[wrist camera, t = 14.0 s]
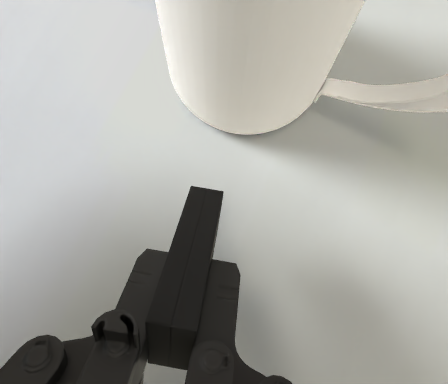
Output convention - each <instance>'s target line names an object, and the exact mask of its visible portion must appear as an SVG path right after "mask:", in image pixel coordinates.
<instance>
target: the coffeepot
mask: <svg viewBox="0 0 448 384" xmlns="http://www.w3.org/2000/svg"><path fill="white" fill-rule="evenodd" d="M364 2H365V0H155V4H156V9H157V14H158V19H159V24H160V29H161V34H162V39H163V44H164V49H165V54H166V59H167V64H168V69H169V74H170V78H171V81H172V83H173V86H174V88H175V90H176V92H177V94H178V96H179V97H180V99H181V100H182V102H183V103H184V105H185V106H186V107H187V108H188V109H189V110H190V111H191V112H192V113H193V114H194V115H195V116H196V117H198V118H199V119H200V120H202V121H203V122H205V123H206V124H208V125H210V126H212V127H214V128H217V129H219V130H222V131H226V132H230V133H235V134H246V135H249V134H261V133H266V132H270V131H273V130H276V129H279V128H281V127H283V126H285V125H287V124H289V123H290V122H292V121H293V120H295V119H296V118H298V117H299V116H300V115H301V114H302V113H303V112H304V111H305V110H306V109H307V108H308V107H309V106H310V105H311V104H312V102H313V101H314V102H315V103H316V102H317V100H318V98H319V96H321V95H325V96H329V97H332V98H336V99H339V100H343V101H346V102H350V103H354V104H358V105H362V106H367V107H372V108H378V109H385V110H393V111H404V112H422V113H432V112H448V74H446V75H443V76H440V77H437V78H432V79H428V80H424V81H418V82H411V83H402V84H388V85H368V84H361V83H357V82H353V81H349V80H346V81H342V80H338V79H334V78H329V79H326V77H327V75H328V74H329V72H330V70H331V68H332V66H333V64H334V62H335V60H336V58H337V56H338V54H339V52H340V50H341V48H342V46H343V44H344V42H345V40H346V38H347V36H348V34H349V32H350V30H351V28H352V26H353V24H354V22H355V20H356V18H357V16H358V14H359V12H360V10H361V8H362V6H363V4H364ZM325 79H326V80H325ZM324 81H325V82H324ZM323 83H324V84H323ZM314 99H315V100H314Z"/></svg>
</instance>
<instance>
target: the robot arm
mask: <svg viewBox="0 0 448 384" xmlns="http://www.w3.org/2000/svg"><path fill="white" fill-rule="evenodd" d="M223 192H224V191H218V190H212V189H206V188H200V187H194V186H191V188H190V191H189V194H188V197H187V200H186V202H185V205H184V208H183V211H182V214H181V217H180V220H179V223H178V226H177V229H176V232H175V235H174V238H173V241H172V244H171V247H170V250H169V252H163V251H158V250H152V249H146V250H145V251H144V252H143V253H142V254H141V255H140V256H139V257H138V258H137V260H136V263H135V265H134V267H133V270H132V272H131V274H130V276H129V279H128V282H127V283H126V286H125V288H124V290H123V293H122V295H121V297H120V299H119V302H118V304H117V306H116V309H115V310H111V311H109V312H106V313H104V314H103V315H101V316H100V317H99V318H97V319H96V321H95V322H94V324H93V325H92V326H91V328H92V332H93V335H92V336H90V337H86V338H82V339H76V340H69V341H63V342H61V341H60V340H59V339H58V338H57V337H55V336H50V335H44V336H38V337H35V338H33V339H31V340H29V341H27V342H26V343H25V344H24V345H23V346H22V347H20V348H19V349H18V350H17V351H16V353H15V354H14V355H13V356H12V357H11V358H10V359H9V360H8V361H7V362H6V364H5V365H4V366H3V367H2V368H1V369H0V384H143V372H144V369H145V365H146V362H147V359H148V363H150V364H156V365H161V366H167V367H172V368H178V369H184V370H187V375H186V380H185V384H292V383H291V382H290V381H289V380H287V379H285V378H284V377H282V376H275V375H272V376H269V377H266V376H264V375H262V374H261V373H259V372H257V371H255V370H254V369H252V368H250V367H249V366H248V365H246V364H245V363H244V362H243V361H242V360H241V358H240V357H239V355H238V353H237V351H236V347H235V330H236V319H237V308H238V297H239V286H240V273H239V270H238V267H237V264H236V263H230V262H225V261H219V260H213V259H212V257H213V252H214V247H215V241H216V236H217V230H218V224H219V217H220V211H221V205H222V198H223Z"/></svg>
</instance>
